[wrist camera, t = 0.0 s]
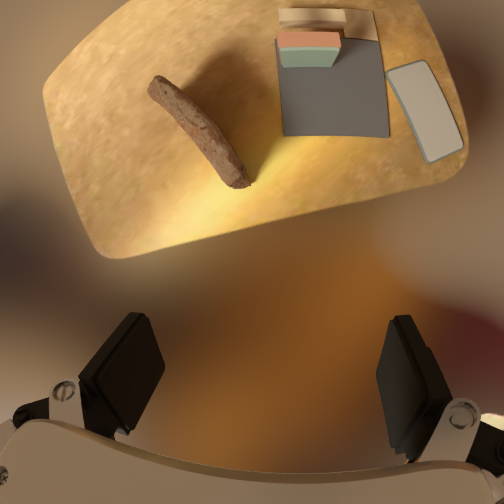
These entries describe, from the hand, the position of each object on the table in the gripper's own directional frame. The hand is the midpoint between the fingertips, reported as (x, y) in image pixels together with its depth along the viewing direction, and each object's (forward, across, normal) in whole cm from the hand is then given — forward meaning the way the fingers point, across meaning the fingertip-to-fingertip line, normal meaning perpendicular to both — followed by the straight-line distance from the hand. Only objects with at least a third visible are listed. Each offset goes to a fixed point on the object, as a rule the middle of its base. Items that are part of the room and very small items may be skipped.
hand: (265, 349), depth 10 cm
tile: (+31, -4, -20) cm, 37 cm away
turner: (+31, -8, -26) cm, 41 cm away
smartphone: (+32, -22, -13) cm, 41 cm away
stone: (+32, +10, -9) cm, 34 cm away
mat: (+31, -8, -16) cm, 36 cm away
